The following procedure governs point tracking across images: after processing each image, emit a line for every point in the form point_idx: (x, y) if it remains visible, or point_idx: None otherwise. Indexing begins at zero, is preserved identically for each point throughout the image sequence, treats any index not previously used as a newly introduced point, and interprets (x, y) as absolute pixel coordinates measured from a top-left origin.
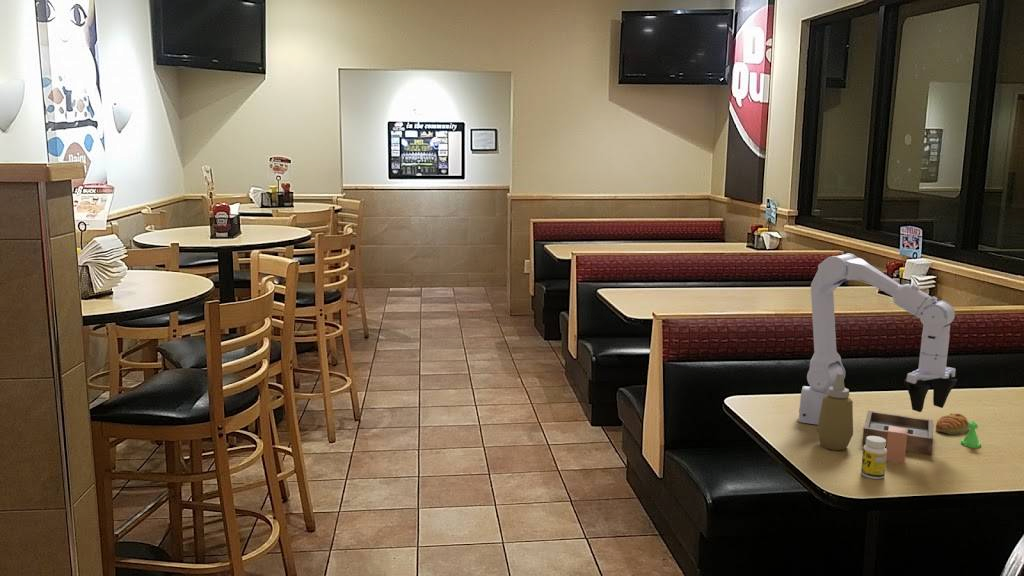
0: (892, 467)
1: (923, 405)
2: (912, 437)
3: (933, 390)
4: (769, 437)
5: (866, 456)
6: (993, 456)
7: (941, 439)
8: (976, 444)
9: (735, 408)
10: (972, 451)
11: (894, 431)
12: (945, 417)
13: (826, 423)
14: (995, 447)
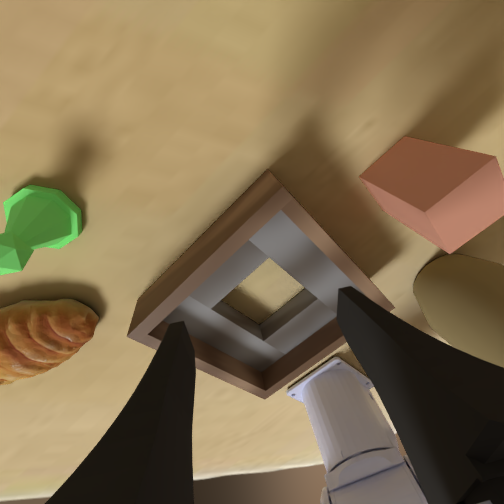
0: (465, 118)
1: (360, 306)
2: (321, 229)
3: (191, 440)
4: None
5: None
6: (21, 83)
7: (128, 270)
8: (36, 192)
9: None
10: (86, 158)
11: (500, 198)
12: (37, 366)
13: None
14: None
